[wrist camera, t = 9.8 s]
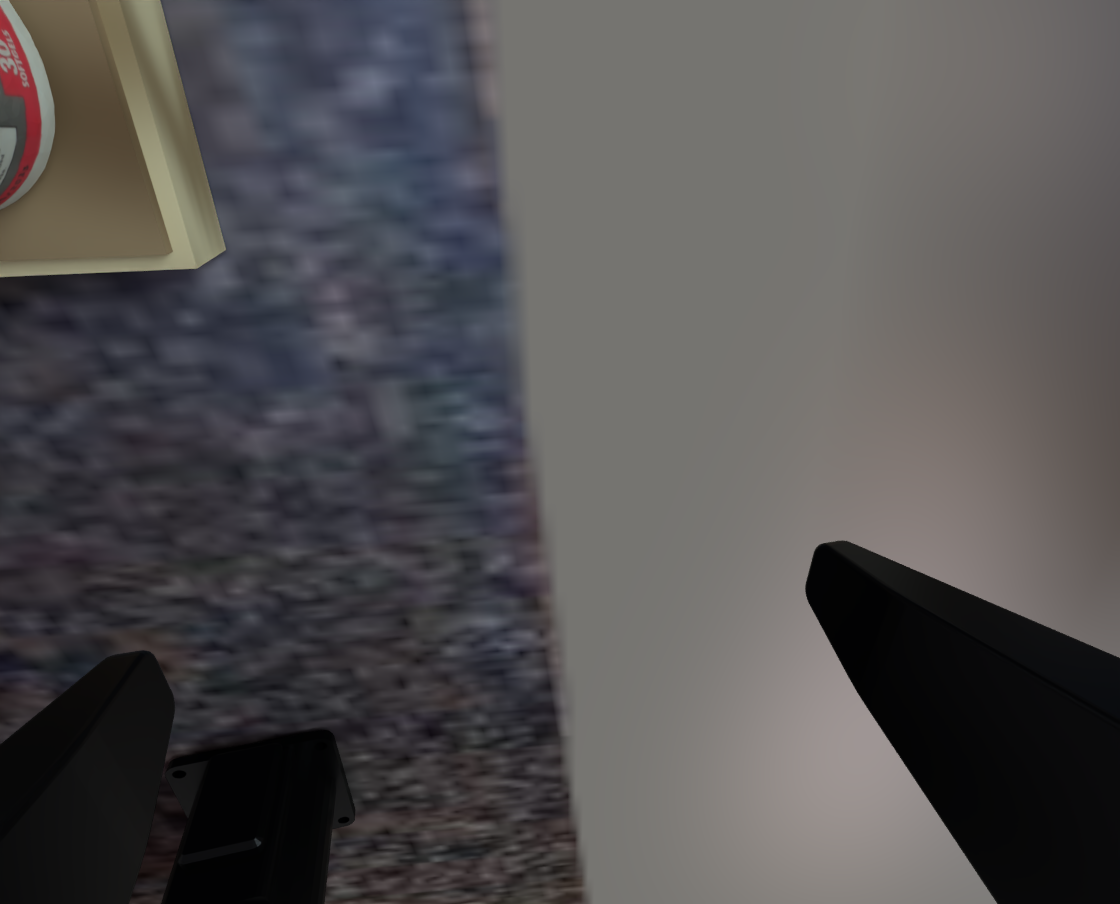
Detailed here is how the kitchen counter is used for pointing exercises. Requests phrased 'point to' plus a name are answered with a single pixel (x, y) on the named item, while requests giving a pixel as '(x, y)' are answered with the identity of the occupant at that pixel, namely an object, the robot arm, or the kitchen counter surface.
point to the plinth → (111, 150)
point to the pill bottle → (22, 109)
